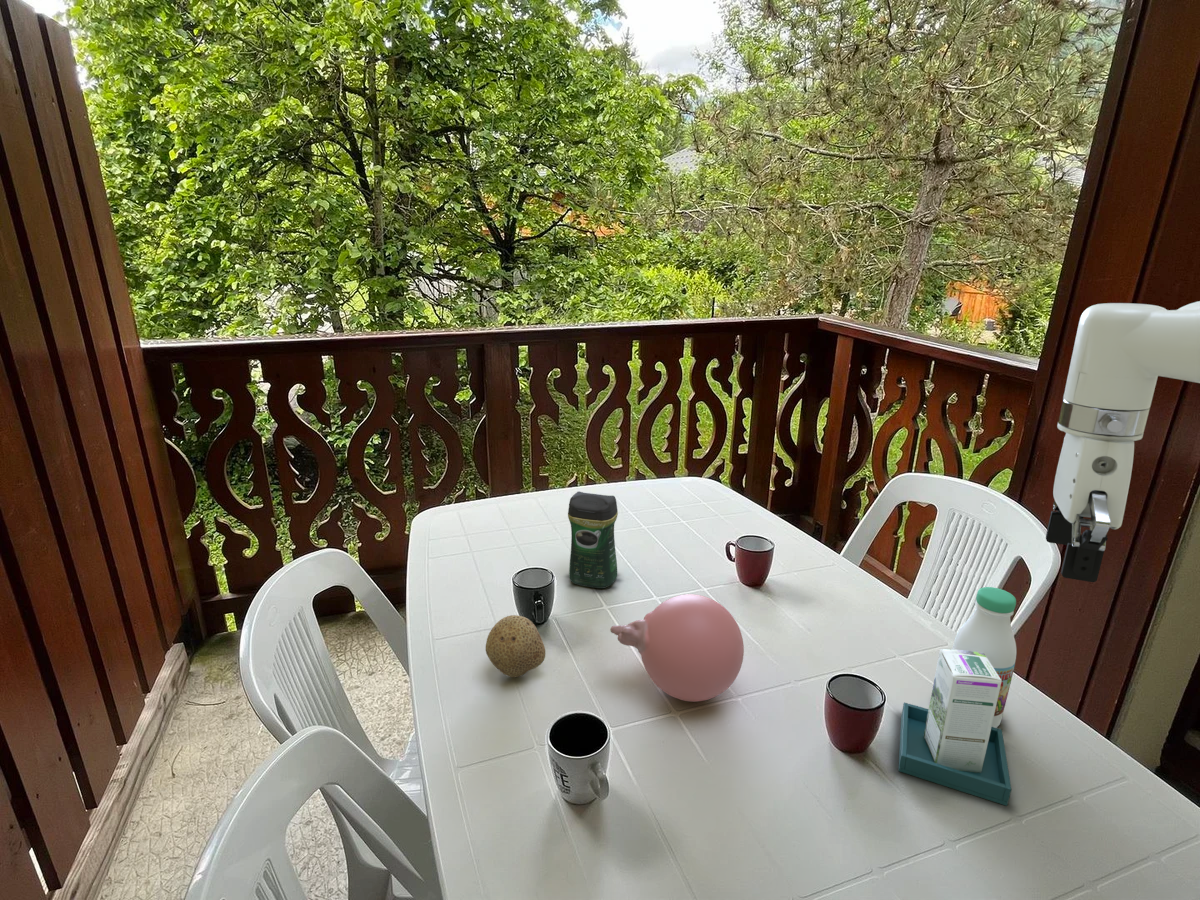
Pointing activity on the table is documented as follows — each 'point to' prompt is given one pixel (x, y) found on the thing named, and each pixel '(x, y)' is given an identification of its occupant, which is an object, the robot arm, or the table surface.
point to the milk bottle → (992, 638)
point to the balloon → (687, 646)
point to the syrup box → (961, 709)
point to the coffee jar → (592, 539)
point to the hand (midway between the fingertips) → (1068, 560)
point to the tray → (921, 764)
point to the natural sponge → (515, 646)
